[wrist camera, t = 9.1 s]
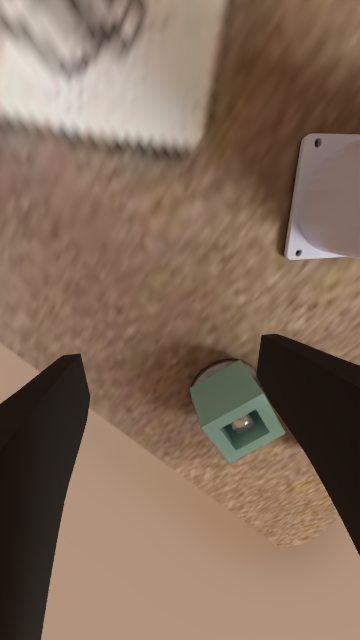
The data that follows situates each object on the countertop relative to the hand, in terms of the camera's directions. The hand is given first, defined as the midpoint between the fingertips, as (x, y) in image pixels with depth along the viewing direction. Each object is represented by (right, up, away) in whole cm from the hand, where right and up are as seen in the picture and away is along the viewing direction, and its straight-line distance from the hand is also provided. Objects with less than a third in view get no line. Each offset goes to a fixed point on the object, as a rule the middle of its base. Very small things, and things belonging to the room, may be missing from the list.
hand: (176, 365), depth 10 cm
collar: (+5, -5, +13) cm, 15 cm away
